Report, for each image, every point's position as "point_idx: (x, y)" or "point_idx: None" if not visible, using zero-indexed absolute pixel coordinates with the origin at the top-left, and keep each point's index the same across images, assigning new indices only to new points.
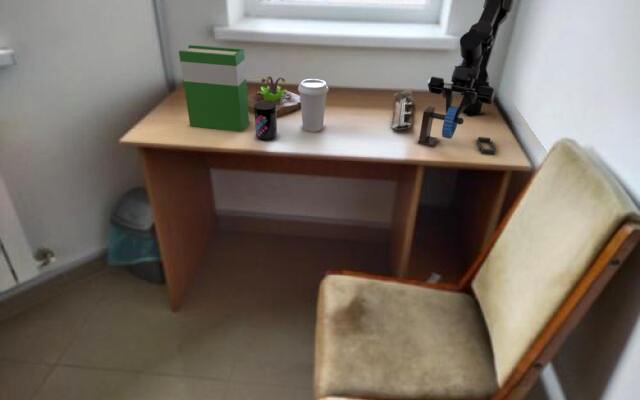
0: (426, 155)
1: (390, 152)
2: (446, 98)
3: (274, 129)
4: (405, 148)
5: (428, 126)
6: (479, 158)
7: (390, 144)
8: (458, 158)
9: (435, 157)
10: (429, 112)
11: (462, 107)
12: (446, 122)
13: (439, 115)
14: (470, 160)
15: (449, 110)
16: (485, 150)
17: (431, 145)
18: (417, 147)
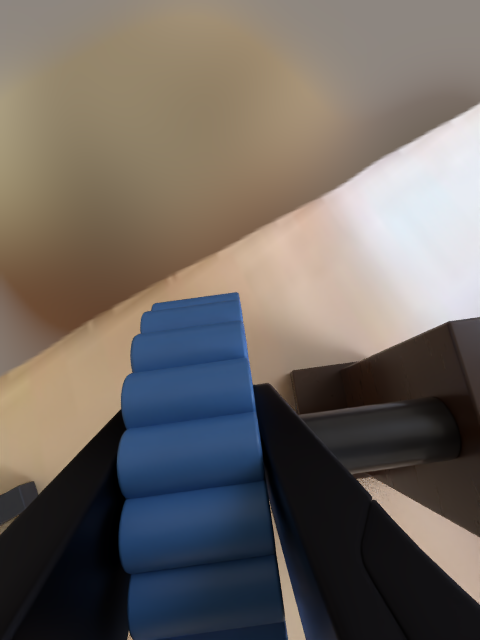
0: (270, 272)
1: (414, 196)
2: (458, 603)
3: None
4: (387, 272)
5: (380, 379)
6: (36, 413)
7: (469, 263)
8: (130, 342)
9: (226, 281)
10: (456, 323)
11: (11, 524)
12: (210, 296)
13: (351, 419)
14: (72, 361)
15: (222, 369)
16: (4, 494)
17: (296, 370)
18: (348, 320)
